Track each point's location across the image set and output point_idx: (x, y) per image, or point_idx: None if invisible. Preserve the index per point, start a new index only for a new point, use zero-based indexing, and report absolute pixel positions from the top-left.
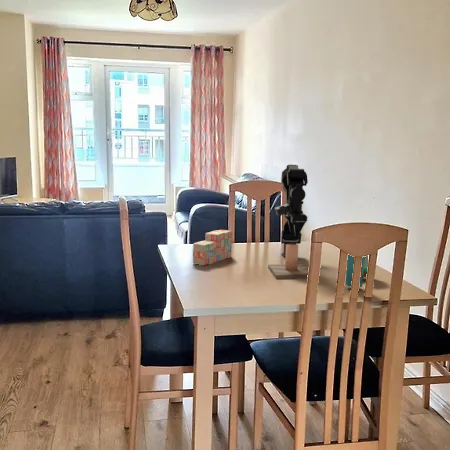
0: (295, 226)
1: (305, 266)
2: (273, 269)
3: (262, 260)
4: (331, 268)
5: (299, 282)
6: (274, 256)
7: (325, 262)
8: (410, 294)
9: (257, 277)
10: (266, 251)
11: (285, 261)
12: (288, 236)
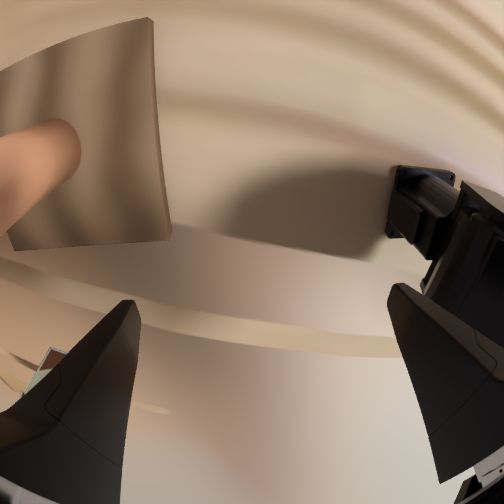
0: (27, 404)
1: (119, 231)
2: (44, 57)
3: (349, 21)
4: (174, 326)
5: None
6: (427, 122)
7: (275, 325)
8: (15, 380)
9: (5, 8)
10: (500, 124)
11: (22, 128)
12: (457, 246)
